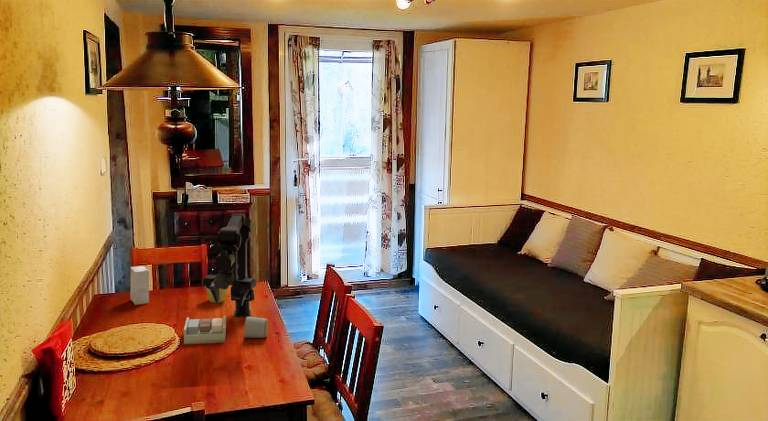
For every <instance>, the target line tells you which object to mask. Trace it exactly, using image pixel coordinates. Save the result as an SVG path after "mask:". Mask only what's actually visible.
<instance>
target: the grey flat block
mask: <svg viewBox="0 0 768 421" xmlns="http://www.w3.org/2000/svg"><path fill="white" fill-rule="evenodd" d="M200 323H201V318H195V319H194V318H193V319H192V318H191V319H190V318H189V323H188V333H198V331H199V325H200Z"/></svg>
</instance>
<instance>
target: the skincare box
mask: <svg viewBox="0 0 768 421" xmlns="http://www.w3.org/2000/svg"><path fill="white" fill-rule="evenodd" d="M129 297H130V298H129V299H130V301H132V303H133V304H134V305H135V306H137V305H139V306H140V305H144V304H149V303H150V271H149V270H148V268H147V267H145V266H144V265H141V266H139V265H138V266H130V296H129Z"/></svg>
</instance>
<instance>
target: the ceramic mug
mask: <svg viewBox="0 0 768 421" xmlns="http://www.w3.org/2000/svg"><path fill="white" fill-rule="evenodd" d="M243 329H244V330H243V336H244V338H248V339H249V338H251V339H253V338H255V339H256V338H257V339H262V338H263V339H264V338H267V337H268V332H269V320H268V319H267V318H263V317H255V316H246V319H245V322H244V328H243Z"/></svg>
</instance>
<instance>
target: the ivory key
mask: <svg viewBox="0 0 768 421" xmlns="http://www.w3.org/2000/svg"><path fill="white" fill-rule="evenodd" d="M223 318H224V317H218V318H217V317H215V318H214V317H213V318H212V320H211V322H212V332H222V326H223Z"/></svg>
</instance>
